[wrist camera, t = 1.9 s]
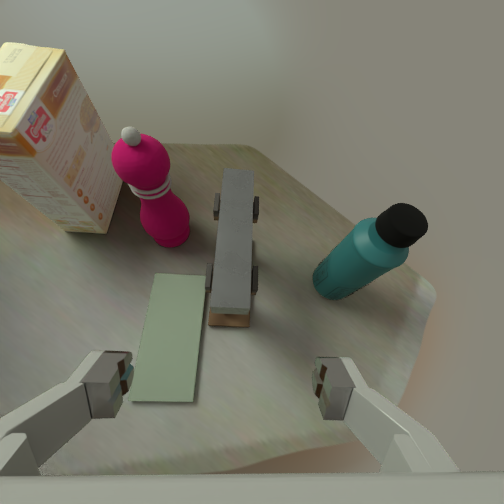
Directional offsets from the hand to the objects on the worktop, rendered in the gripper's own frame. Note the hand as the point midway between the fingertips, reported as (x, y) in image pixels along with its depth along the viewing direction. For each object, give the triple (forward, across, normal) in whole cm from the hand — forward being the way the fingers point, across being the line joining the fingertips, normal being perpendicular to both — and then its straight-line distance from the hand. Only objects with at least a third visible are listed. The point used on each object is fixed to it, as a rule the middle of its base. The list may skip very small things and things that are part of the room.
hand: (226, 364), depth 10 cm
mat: (+20, +8, +15) cm, 26 cm away
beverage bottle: (+27, -16, +9) cm, 32 cm away
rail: (+17, 0, 0) cm, 17 cm away
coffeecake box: (+36, +25, -1) cm, 44 cm away
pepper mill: (+32, +11, +3) cm, 34 cm away
